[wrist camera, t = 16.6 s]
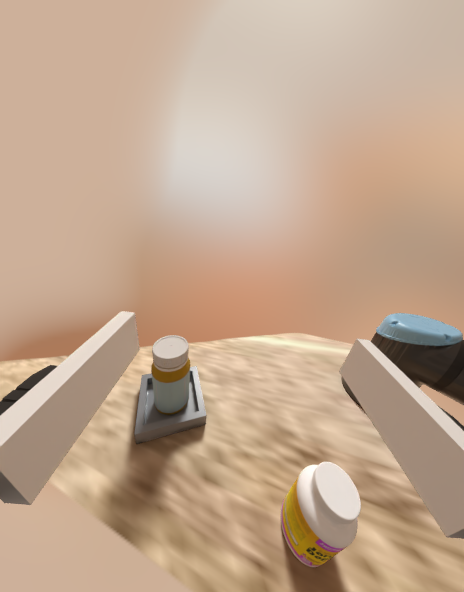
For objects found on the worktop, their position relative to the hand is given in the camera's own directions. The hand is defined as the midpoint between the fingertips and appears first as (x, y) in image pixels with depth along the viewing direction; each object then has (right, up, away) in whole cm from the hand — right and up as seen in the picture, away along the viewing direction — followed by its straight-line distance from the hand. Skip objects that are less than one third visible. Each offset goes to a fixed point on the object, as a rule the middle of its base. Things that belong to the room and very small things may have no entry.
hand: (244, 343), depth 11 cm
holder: (-14, -20, +28) cm, 37 cm away
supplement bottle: (+9, -30, +15) cm, 35 cm away
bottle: (-14, -20, +28) cm, 37 cm away
